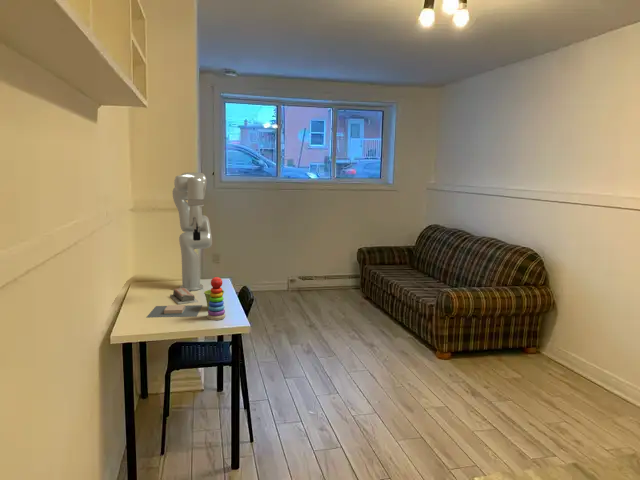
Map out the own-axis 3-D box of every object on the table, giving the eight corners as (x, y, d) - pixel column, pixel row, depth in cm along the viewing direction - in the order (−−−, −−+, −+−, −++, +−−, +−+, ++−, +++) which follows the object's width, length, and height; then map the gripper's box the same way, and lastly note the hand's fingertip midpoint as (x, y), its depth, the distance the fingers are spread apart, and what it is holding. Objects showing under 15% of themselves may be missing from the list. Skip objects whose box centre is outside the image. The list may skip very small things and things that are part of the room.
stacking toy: (208, 321, 209) (207, 279, 207) (205, 316, 217) (204, 275, 214) (227, 319, 212) (226, 278, 210) (223, 314, 220) (222, 274, 217)
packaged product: (169, 288, 249) (188, 286, 254) (169, 297, 249) (188, 295, 254) (177, 296, 233) (198, 294, 238) (178, 306, 234) (198, 303, 239)
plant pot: (203, 307, 230) (202, 290, 229) (222, 305, 234) (222, 288, 232) (205, 313, 222) (205, 294, 220) (226, 311, 225) (225, 293, 224)
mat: (155, 306, 231) (155, 306, 231) (202, 305, 233) (202, 305, 233) (146, 318, 214) (146, 317, 213) (196, 317, 216) (196, 316, 216)
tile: (167, 305, 226) (164, 310, 218) (185, 305, 226) (182, 309, 218) (168, 309, 226) (164, 314, 218) (185, 309, 227) (182, 314, 219)
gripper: (190, 201, 241) (191, 238, 243) (185, 204, 226) (186, 242, 229) (205, 201, 241) (206, 238, 244) (201, 204, 227) (202, 242, 229)
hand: (196, 240), depth 236 cm, fingers closed
